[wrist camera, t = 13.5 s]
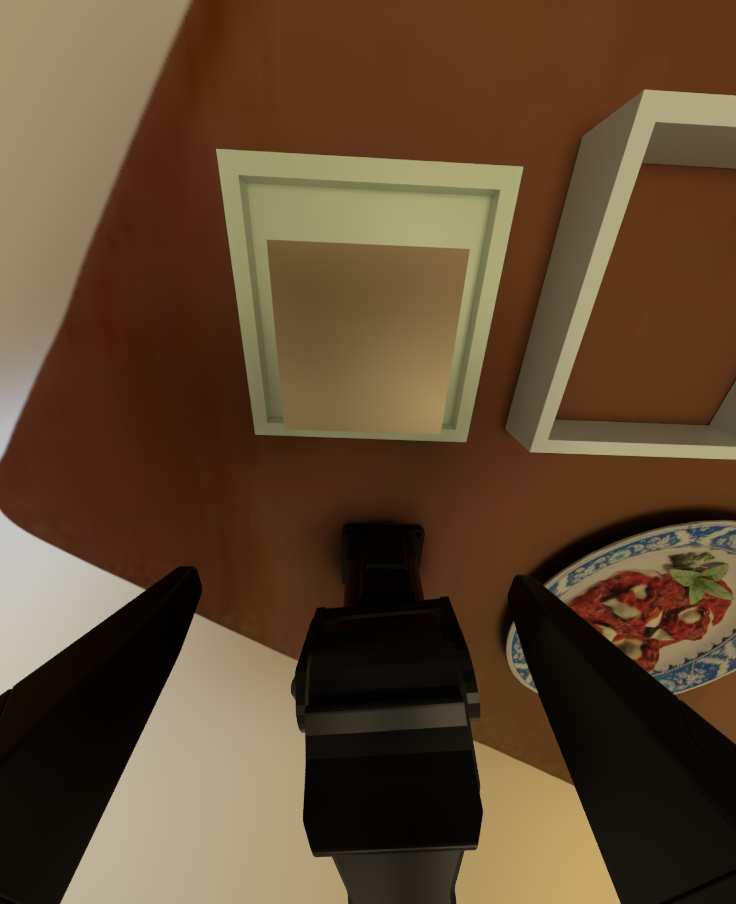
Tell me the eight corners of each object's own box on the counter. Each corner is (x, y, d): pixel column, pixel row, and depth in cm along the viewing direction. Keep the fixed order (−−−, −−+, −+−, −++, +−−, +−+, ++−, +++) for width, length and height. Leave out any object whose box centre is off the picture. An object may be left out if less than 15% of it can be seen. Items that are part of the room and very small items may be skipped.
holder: (714, 436, 21) (775, 460, 18) (504, 428, 21) (529, 452, 17) (885, 154, 14) (1029, 114, 11) (582, 136, 14) (644, 89, 11)
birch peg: (402, 366, 18) (440, 434, 9) (325, 363, 18) (284, 429, 9) (410, 277, 16) (470, 248, 7) (323, 273, 16) (266, 239, 7)
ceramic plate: (602, 705, 38) (620, 736, 35) (445, 634, 31) (452, 665, 28) (837, 585, 28) (886, 615, 26) (682, 446, 22) (726, 467, 19)
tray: (457, 429, 21) (466, 442, 19) (264, 422, 20) (255, 434, 19) (504, 182, 15) (523, 166, 13) (234, 167, 14) (216, 149, 13)
